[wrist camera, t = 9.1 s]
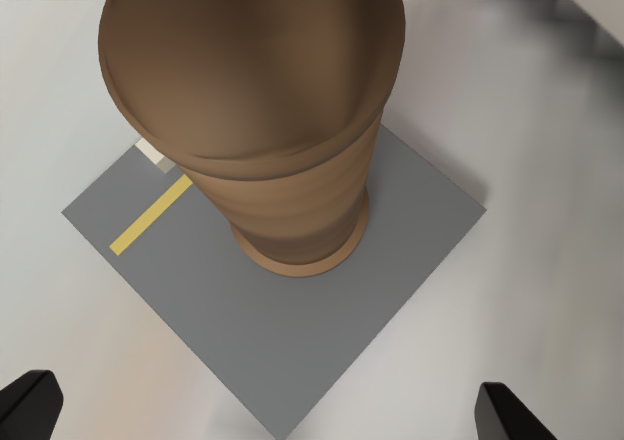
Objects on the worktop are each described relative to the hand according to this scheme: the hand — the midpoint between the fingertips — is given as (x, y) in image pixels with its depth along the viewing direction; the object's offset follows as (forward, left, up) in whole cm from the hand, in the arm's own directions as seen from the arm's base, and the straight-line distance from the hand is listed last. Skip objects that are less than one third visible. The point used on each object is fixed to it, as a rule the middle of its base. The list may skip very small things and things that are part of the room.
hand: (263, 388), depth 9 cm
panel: (+5, -4, -10) cm, 12 cm away
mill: (+4, -5, -9) cm, 11 cm away
